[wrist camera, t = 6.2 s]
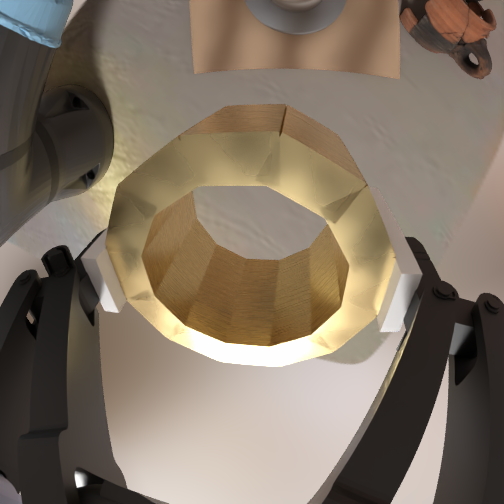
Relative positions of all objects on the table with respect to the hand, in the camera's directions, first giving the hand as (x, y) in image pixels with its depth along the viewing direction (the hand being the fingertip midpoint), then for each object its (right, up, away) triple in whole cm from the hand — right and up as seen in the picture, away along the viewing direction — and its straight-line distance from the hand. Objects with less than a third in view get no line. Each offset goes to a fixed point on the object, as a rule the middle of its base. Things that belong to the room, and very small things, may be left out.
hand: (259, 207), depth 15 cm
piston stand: (+4, +22, +5) cm, 23 cm away
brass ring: (0, 0, 0) cm, 0 cm away
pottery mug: (+19, +21, +3) cm, 29 cm away
